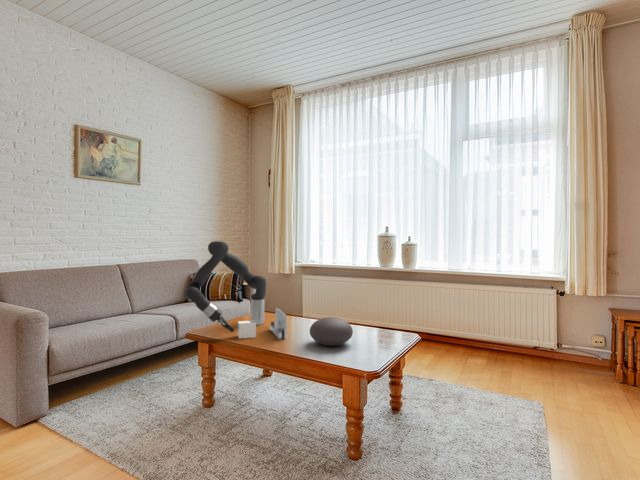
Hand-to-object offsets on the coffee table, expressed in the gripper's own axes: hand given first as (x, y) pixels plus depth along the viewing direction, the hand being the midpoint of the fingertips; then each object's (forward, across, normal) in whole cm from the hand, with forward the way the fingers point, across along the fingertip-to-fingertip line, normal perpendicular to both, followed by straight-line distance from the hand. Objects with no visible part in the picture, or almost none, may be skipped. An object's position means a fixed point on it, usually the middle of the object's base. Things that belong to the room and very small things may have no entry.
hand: (233, 331), depth 216 cm
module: (+9, 0, -3) cm, 9 cm away
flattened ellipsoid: (+39, -30, -33) cm, 59 cm away
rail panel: (+22, 0, -16) cm, 28 cm away
